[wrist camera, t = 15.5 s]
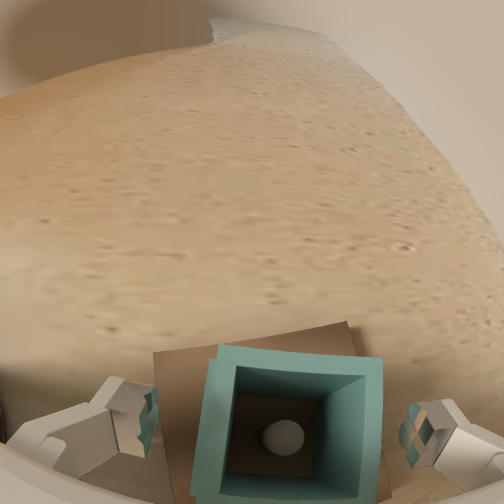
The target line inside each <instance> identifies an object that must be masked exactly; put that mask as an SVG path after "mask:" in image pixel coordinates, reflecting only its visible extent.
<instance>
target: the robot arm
mask: <svg viewBox="0 0 504 504" xmlns="http://www.w3.org/2000/svg"><path fill="white" fill-rule="evenodd" d="M157 399H158V388H157V387H156V386H155V385H150V384H146V383H142V382H137V381H133V380H129V379H125V378H121V377H117V376H113V375H112V376H110V377H108V379H107V380H106V381H105V383H104V384H103V385H102V387H101V388H100V389H99V391H98V392H97V393H96V395H95V396H94V397H93V399H92V400H91V401H90V403H87V402H84V403H81V404H78V405H75V406H73V407H70V408H67V409H64V410H61V411H58V412H55V413H52V414H49V415H46V416H43V417H40V418H37V419H34V420H31V421H28V422H25V423H24V424H23V425H22V426H21V427H20V428H19V429H18V430H17V432H16V433H15V434H14V435H13V436H12V437H11V438H10V440H9V441H8V442H7V443H6V444H5V445H4V444H3V443H1V442H0V504H155V503H151V502H147V501H143V500H139V499H136V498H132V497H129V496H125V495H122V494H118V493H115V492H112V491H109V490H106V489H103V488H100V487H97V486H94V485H91V484H89V483H86V482H83V481H81V480H80V478H79V477H81V476H83V475H84V474H86V473H88V472H89V471H91V470H93V469H94V468H96V467H98V466H99V465H101V464H102V463H104V462H106V461H107V460H109V459H110V458H112V457H114V456H115V455H117V454H118V453H119V452H122V453H126V454H130V455H134V456H138V457H142V458H145V457H146V455H147V452H148V450H149V447H150V445H151V439H150V437H151V436H153V435H154V434H155V433H156V430H157V427H158V423H159V406H158V405H157V404H156V401H157ZM407 413H408V415H409V417H408V418H407V419H405V420H404V421H403V422H402V425H401V427H400V431H399V440H400V444H401V446H402V447H403V448H404V449H406V450H407V451H408V452H407V455H406V457H407V459H408V461H409V463H410V466H411V468H412V469H416V468H422V467H429V466H433V468H435V469H436V470H437V471H438V472H440V473H441V474H442V475H443V476H445V477H446V478H447V479H449V480H450V481H451V482H452V483H454V484H455V485H456V486H457V487H459V488H460V489H461V490H463V491H464V492H465V493H463V494H460V495H457V496H453V497H450V498H446V499H443V500H439V501H435V502H431V503H427V504H504V438H503V437H501V436H499V435H497V434H495V433H493V432H491V431H489V430H487V429H484V428H482V427H480V426H478V425H476V424H471V423H470V422H469V421H468V419H467V418H466V417H465V415H464V414H463V413H462V412H461V410H460V409H459V408H458V406H457V405H456V404H455V402H454V401H453V400H452V399H450V398H446V399H439V400H434V401H423V402H413V403H412V404H411V405H410V407H409V409H408V411H407Z"/></svg>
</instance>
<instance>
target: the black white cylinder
mask: <svg viewBox="0 0 504 504" xmlns="http://www.w3.org/2000/svg"><path fill="white" fill-rule="evenodd" d="M0 442H1V443H3V444H4V443H5V428H4V420H3V414H2V410H1V406H0Z"/></svg>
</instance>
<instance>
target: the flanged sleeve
mask: <svg viewBox="0 0 504 504" xmlns="http://www.w3.org/2000/svg"><path fill="white" fill-rule="evenodd" d="M236 394H241V395H250V396H259V397H269V398H280V399H293V400H309V401H317V412H316V425H315V437H314V447H313V457H312V467H311V476H310V477H295V476H274V475H260V474H249V473H239V472H231V471H226V469H227V461H228V454H229V446H230V439H231V431H232V424H233V416H234V409H235V401H236ZM382 417H383V357H356V356H337V355H322V354H308V353H297V352H286V351H275V350H266V349H257V348H249V347H240V346H233V345H225V344H219V346H218V353H217V359H211V358H210V360H209V366H208V372H207V378H206V385H205V391H204V397H203V404H202V410H201V417H200V424H199V430H198V437H197V444H196V451H195V458H194V465H193V472H192V479H191V486H190V494H189V495H190V496H195V497H196V504H375V503H376V495H377V487H378V477H379V466H380V454H381V439H382Z"/></svg>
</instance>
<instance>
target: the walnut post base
mask: <svg viewBox="0 0 504 504" xmlns="http://www.w3.org/2000/svg"><path fill="white" fill-rule="evenodd" d="M225 345H233V346H240V347H249V348H257V349H266V350H275V351H286V352H297V353H308V354H322V355H337V356H356V357H357V353H356V350H355V347H354V343H353V340H352V337H351V333H350V330H349V327H348V324H347V321H345V322H340V323H336V324H331V325H326V326H322V327H317V328H312V329H307V330H302V331H297V332H292V333H286V334H281V335H275V336H270V337H264V338H258V339H252V340H246V341H239V342H233V343H226V344H225ZM218 346H219V345H212V346H205V347H197V348H189V349H181V350H173V351H164V352H154V353H153V359H154V369H155V379H156V387H157V388H158V405H159V412H160V419H161V426H162V433H163V440H164V446H165V452H166V458H167V463H168V469H169V474H170V479H171V484H172V489H173V494H174V498H175V503H176V504H196V497H195V496H190V495H189V494H190V486H191V479H192V472H193V465H194V458H195V451H196V444H197V437H198V430H199V424H200V417H201V410H202V404H203V397H204V391H205V385H206V378H207V372H208V366H209V360H210V358H211V359H217V353H218ZM316 412H317V401H309V400H293V399H280V398H269V397H259V396H250V395H241V394H236V401H235V409H234V416H233V424H232V431H231V439H230V446H229V454H228V461H227V469H226V471H231V472H239V473H249V474H260V475H274V476H295V477H310V476H311V467H312V457H313V447H314V437H315V425H316ZM389 498H392V494H391V489H390V484H389V479H388V475H387V470H386V465H385V461H384V457H383V452H382V448H381V454H380V466H379V477H378V487H377V495H376V503H375V504H377V503H380V502H382V501H385V500H387V499H389Z"/></svg>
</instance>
